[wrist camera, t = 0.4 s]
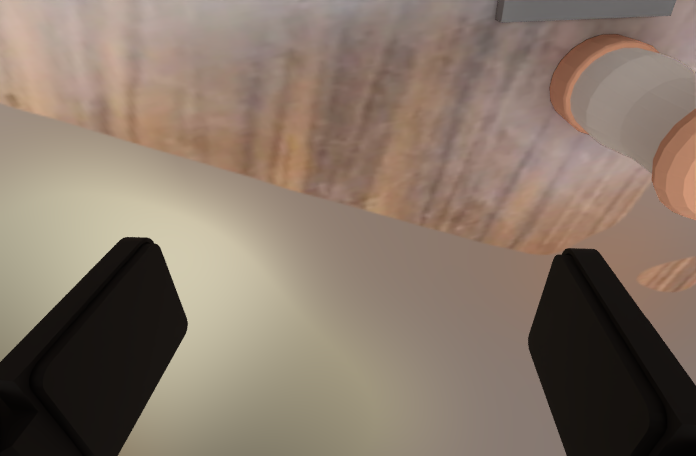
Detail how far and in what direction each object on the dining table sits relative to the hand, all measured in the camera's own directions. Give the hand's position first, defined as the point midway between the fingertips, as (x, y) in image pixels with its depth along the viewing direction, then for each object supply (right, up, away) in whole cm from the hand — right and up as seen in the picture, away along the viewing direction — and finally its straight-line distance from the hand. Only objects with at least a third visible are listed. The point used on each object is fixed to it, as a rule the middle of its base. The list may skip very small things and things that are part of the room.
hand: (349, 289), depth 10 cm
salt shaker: (+21, +14, +24) cm, 35 cm away
